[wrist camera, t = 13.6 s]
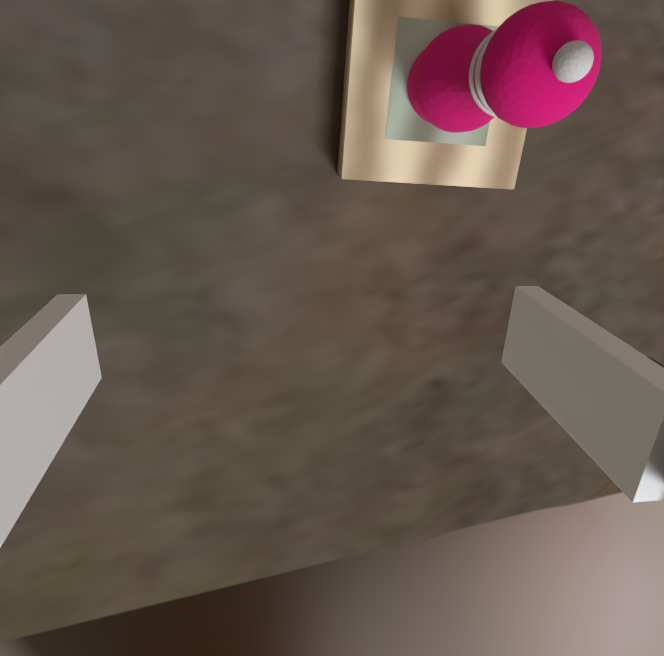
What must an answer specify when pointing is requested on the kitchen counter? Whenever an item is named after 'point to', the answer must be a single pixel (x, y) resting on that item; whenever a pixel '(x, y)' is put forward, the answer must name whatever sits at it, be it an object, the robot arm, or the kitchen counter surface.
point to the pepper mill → (508, 70)
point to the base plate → (395, 108)
